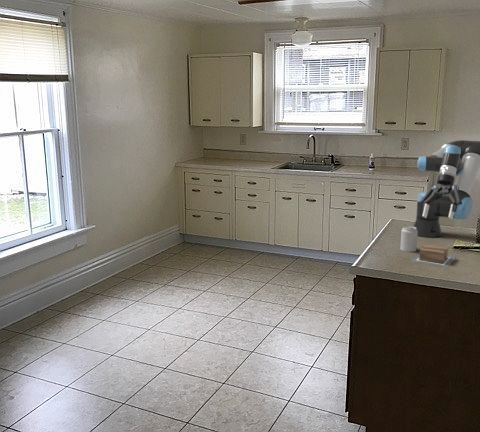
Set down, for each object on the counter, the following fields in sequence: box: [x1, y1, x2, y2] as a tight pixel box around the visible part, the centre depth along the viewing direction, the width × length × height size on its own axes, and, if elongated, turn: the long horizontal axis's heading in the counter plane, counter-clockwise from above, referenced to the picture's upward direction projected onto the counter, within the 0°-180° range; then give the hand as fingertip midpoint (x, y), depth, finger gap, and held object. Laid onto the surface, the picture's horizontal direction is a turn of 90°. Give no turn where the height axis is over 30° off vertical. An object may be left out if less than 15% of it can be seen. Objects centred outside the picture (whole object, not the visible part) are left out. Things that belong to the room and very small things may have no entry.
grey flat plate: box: [409, 252, 457, 268], centre depth 239 cm, size 18×16×1 cm
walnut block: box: [419, 244, 449, 264], centre depth 238 cm, size 10×10×5 cm
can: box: [400, 225, 418, 253], centre depth 253 cm, size 8×8×12 cm
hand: (437, 217), depth 250 cm, fingers open, 13 cm apart
